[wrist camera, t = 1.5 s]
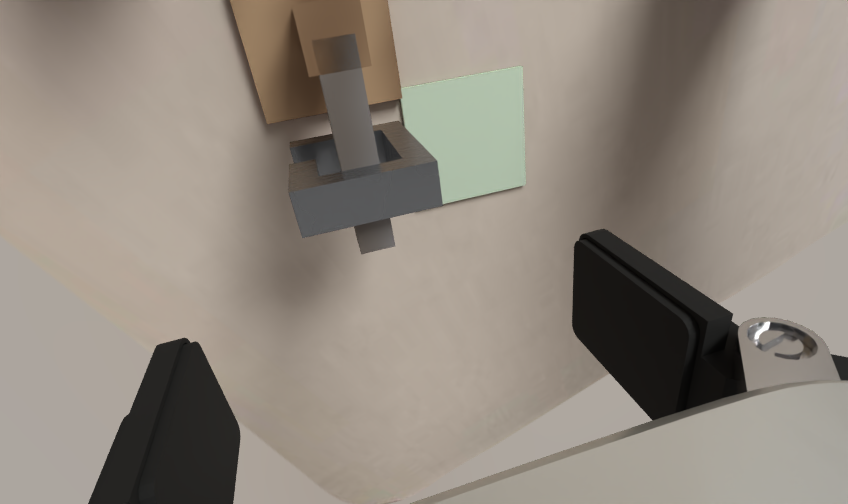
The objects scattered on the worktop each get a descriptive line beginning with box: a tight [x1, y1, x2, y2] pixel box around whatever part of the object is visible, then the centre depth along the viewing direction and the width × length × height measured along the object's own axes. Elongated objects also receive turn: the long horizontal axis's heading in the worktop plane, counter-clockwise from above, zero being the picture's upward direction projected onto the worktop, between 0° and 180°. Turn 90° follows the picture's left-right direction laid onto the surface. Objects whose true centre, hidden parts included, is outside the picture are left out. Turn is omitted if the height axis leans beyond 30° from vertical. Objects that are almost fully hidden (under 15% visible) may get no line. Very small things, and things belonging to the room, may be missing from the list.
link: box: [289, 121, 443, 238], centre depth 22 cm, size 6×2×8 cm, turn 98°
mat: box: [400, 66, 526, 204], centre depth 34 cm, size 9×9×1 cm
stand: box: [230, 0, 402, 254], centre depth 24 cm, size 9×12×14 cm
